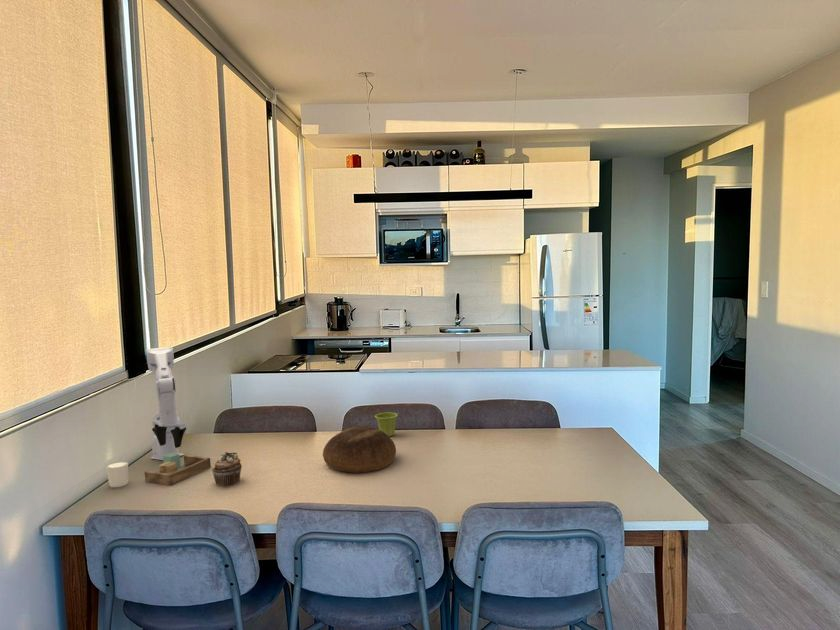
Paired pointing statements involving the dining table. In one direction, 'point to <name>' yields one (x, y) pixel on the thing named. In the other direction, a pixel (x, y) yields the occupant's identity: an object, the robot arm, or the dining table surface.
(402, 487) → the dining table surface
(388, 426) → the plant pot
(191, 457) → the corral
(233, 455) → the cupcake
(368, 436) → the bread
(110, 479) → the white cylinder
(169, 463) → the oak block
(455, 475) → the dining table surface
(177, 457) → the teal block
